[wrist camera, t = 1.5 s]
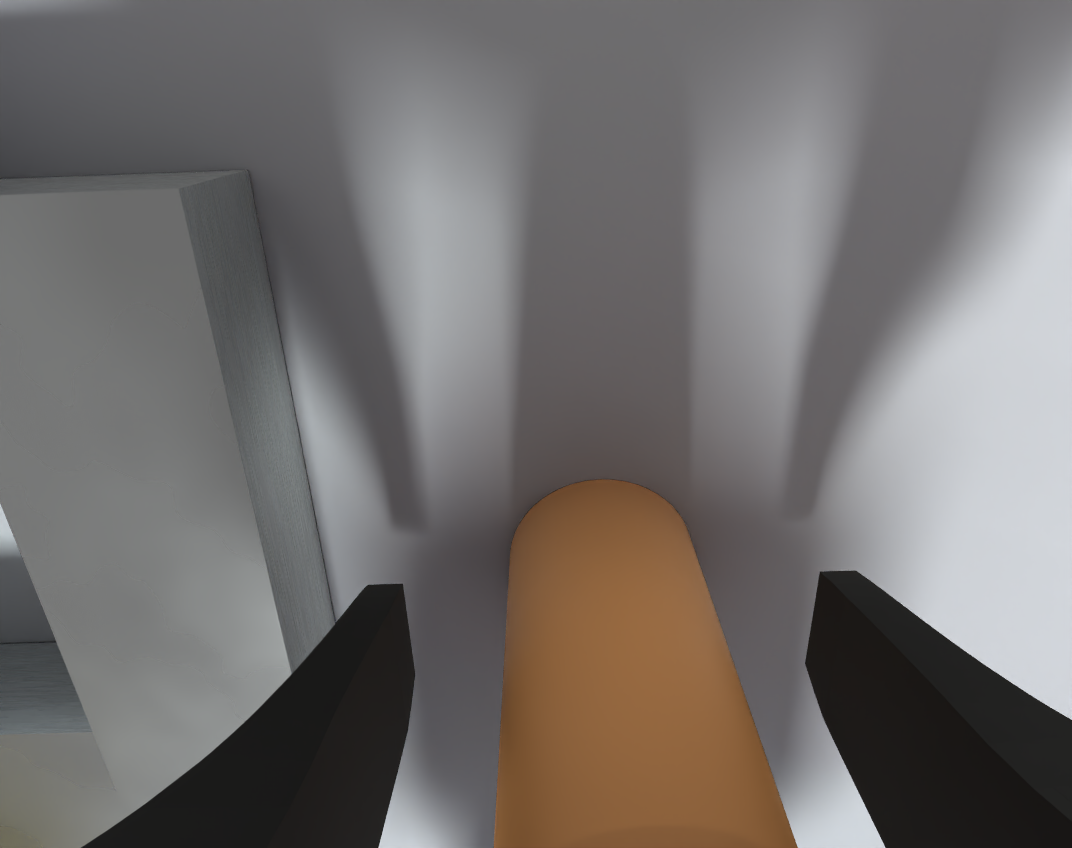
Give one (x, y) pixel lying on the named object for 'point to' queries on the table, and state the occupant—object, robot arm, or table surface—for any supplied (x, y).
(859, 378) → the table surface
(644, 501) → the orange rounded cylinder
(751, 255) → the table surface
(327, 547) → the table surface
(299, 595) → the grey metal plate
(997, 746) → the robot arm
